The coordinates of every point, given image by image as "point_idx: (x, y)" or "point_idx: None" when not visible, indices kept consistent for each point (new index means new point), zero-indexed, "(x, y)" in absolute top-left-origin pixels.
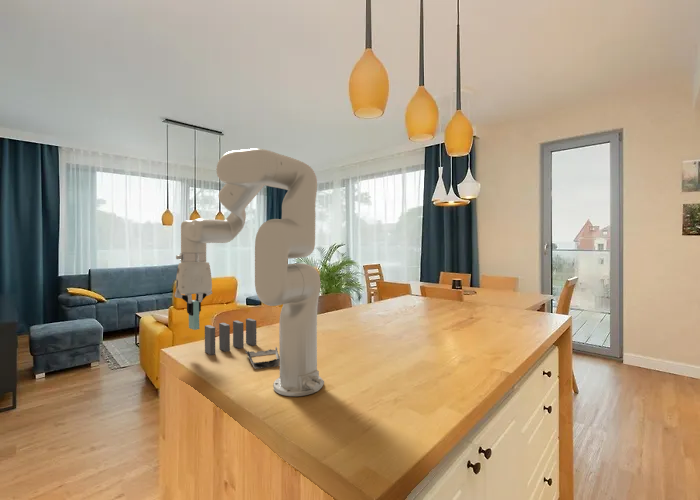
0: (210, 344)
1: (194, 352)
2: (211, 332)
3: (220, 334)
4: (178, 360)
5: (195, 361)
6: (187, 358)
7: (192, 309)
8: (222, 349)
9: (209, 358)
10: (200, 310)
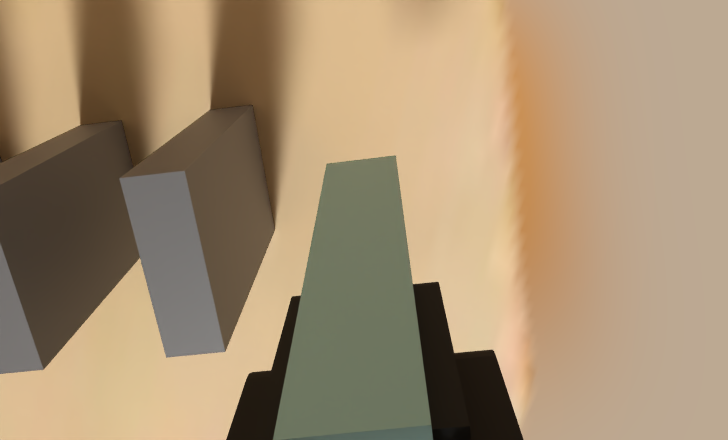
0: (231, 124)
1: None
2: (186, 156)
3: (90, 275)
4: (504, 133)
5: (397, 13)
6: (432, 141)
7: (433, 335)
8: None
9: (277, 21)
10: (256, 374)
